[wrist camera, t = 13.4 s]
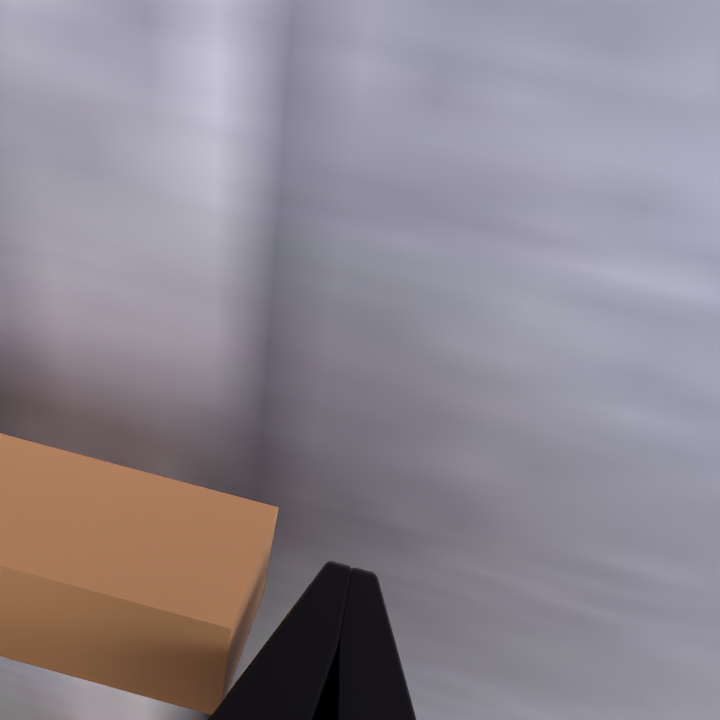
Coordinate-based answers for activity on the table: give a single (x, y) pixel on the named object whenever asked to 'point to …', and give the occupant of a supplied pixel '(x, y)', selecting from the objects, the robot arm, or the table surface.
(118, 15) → the table surface
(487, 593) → the table surface
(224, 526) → the pin
